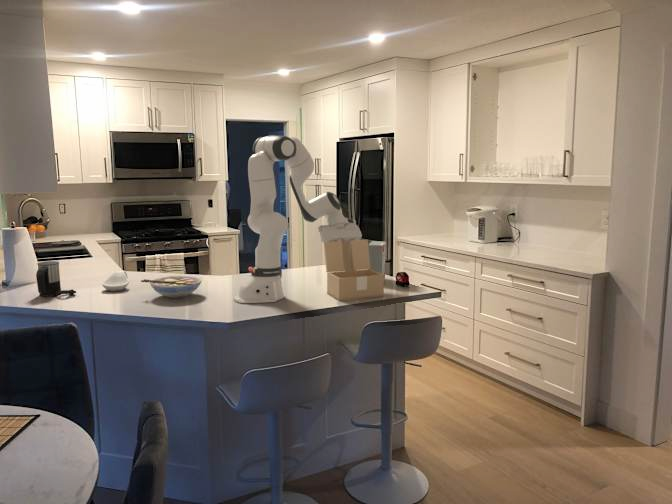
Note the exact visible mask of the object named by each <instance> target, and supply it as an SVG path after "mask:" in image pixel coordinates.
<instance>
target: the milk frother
mask: <svg viewBox="0 0 672 504" xmlns="http://www.w3.org/2000/svg"><path fill="white" fill-rule="evenodd" d="M36 264H37V271H36V274H35V275H36V284H37V285H36V286H37V291H38V293H39V295H38V296H40V297H56V296H59V295H69V296H73V295H75V294H77V291H76V290H74V289H69V290H68V289H67V290H66V289H64V290H62V288H61V275H60V274H61V273H60V261H59V260H58V261H55V260H54V261H51V260H48V261H47V260H46V261H40V262H38V263H37V262H36Z"/></svg>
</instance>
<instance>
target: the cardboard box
mask: <svg viewBox="0 0 672 504" xmlns="http://www.w3.org/2000/svg"><path fill="white" fill-rule="evenodd" d="M326 274H327V275H326V279H327V281H326V283H327V284H326V292H327V293H326V294H327V295H328V296H330V297H331V298H333V299H335V300H336V301H338V302H341V301H354V300H362V299H364V300H365V299H373V298H383V297H384V289H385V286H384V284H385V279H384V275H383V274H380V273H378V272H375V271H373V270H371V269H368V270H367V269H364V270H356V271H338V272H326Z"/></svg>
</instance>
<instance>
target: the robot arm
mask: <svg viewBox="0 0 672 504" xmlns="http://www.w3.org/2000/svg"><path fill="white" fill-rule="evenodd" d="M251 154H252V155H251V156H250V157H249V159H248V163H247V175H248V176H247V177H248V183H249V184H248V185H249V192H250V211H249V214H248V217H247V225H248V227H249V228H250V230H251V231H253V232H254V233H256V234H259V239H258V243H257V246H256V247H255V249H254V251H255V253H254V254H255V255H254V256H255V261H254V262H255V266H254V267H253V266H249V267H248V271H249V272H250V273H251V274H250V276H248V277H247V278H246V279H244V280H243V282H241V283H240V284H239V287H238V293H236V294H234V295H233V300H234V301H235V302H236V303H240V304H259V303H260V304H261V303H275V302H278V301H279V300H282V299H284V298H285V294H284V290H283V286H282V285H283V284H282V278H283V277H282V276H283V271H282V266H281V247H282V243H283V238H284V235H285V234H286V233H287V231H288V228H289V222H288V219H287V218H286V217H285V216H284V215H283V214H281V213H280V212H277V211H274V203H275V200H276V198H277V189H276V188H277V187H276V181H275V174H274V164H275V162H281V161H282V162H284V161H285V162H286V164H287V166H288V167H289V170H290V175H289V176H288V177H289V182H290V186H291V189H292V192H293V195H294V197H295V199H296V201H297V204H298V207H299V209H300V214H301V216H302V218H303V219H304V220H305V221H306V222H309V223H314V222H315V221H317V220H318V219H321V218H322V217H325V218H326V223H327V224H325V225H324V224H322V225H320V226H318V227H317V229H318V232H319V234H320V241H321V242H322V243H323V244H324V242H334V241H352V240H362V237H363V234H362V231H361V230H360V227H359V226H358V225H357V224H356V223H357V221H356V220H355V219H352V218H347V217H345V216H344V215H343V210H342V208H341V205H342V204H341V203H340V200H339V198H338V196H337V195H336V194H335V193H334V192H330V191H326V192H324V193H321V194H320V195H318V196H316V197H314V198H312V199H310V200H307V199H306V197H305V194H304V191H303V188H302V187H303V185H304V183H305V182H307V180H308V179H309V178H310V177H311V175H312V174H313V172H314V170H315V169H314V168H315V162H314V159H313V157H312V156H311V153H310V152H309V151H308V149H307V148H306V146H305V145H304V144H303V143H302V141H301V140H299V138H297V137H296V136H292V137H291V136H290V137H289V136H285V135H273V134H272V135H267V136H260V137H258V138H257V139H256V140H255V141H254V142H253V144H252V153H251Z"/></svg>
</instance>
